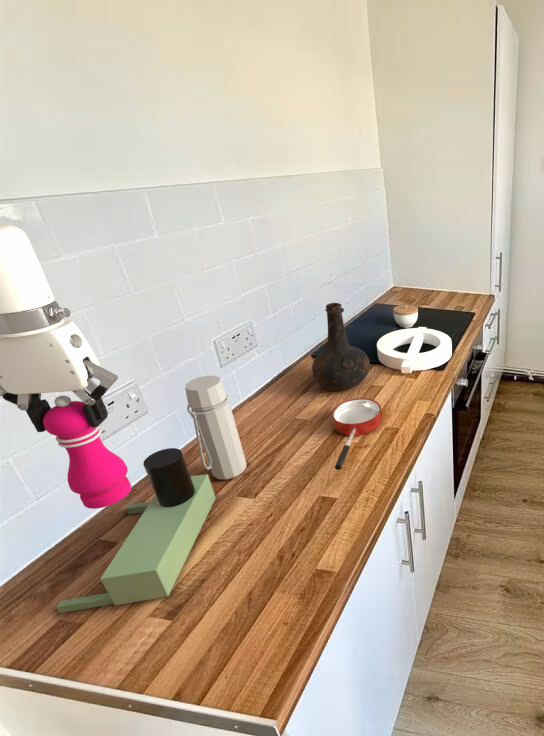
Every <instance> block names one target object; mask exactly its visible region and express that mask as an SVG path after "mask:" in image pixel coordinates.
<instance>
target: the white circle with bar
mask: <svg viewBox="0 0 544 736" xmlns="http://www.w3.org/2000/svg"><path fill="white" fill-rule="evenodd" d="M423 344H426V345H427V344H428V345H431V346H434V347H435V348H433V349H431V350H427V351H425V352H420V350H421V348H422V346H423ZM404 345H410V346H409V348H408V350H407V352H401V351H398V350H395V349H396V348H398V347H401V346H404ZM452 345H453V341H452V338H451V337H450V336H449V335H448V334H446V333H444V332H442V331H441V330H437V329H432V328H428V327H426V326H418V327H408V328H403V329H397V330H394V331H391V332H388V333H386V334H384V335H383V336H381V337H380V338H379V339H378V340H377V343H376V349H377V351H376V352H377V358H378V360H379V362H380V363H381V364H382V365H384V366H386V367H388V368H391V369H394V370H398V371H401V374H412V372H415V371H417V372H418V371H424V370H430V369H433V368H437V367H440V366H442V365H443V364H445V363H447V362H448V361H449V360H450V359H451V357H452V354H453V346H452Z"/></svg>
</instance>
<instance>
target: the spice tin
mask: <svg viewBox="0 0 544 736" xmlns="http://www.w3.org/2000/svg"><path fill="white" fill-rule="evenodd" d="M142 464H143V467H144V470H145V472H146V475H147V477H148V480H149V482H150V484H151V486H152V489H153V492H154V495H155V494H156V496H157V499H158V501H159V504H160V505H161V506H163V507H174V506H178V505H181V504H183V503H185V502H186V501H188V500H189V499H191V498H192V497H193V495H194V494H195V488H194V485H193V482H192V479H191V477H190V476H191V473H190V471H189V468H188V465H187V463H186V460H185V458H184V455H183V452H182V450H181V449H179V448H176V447H170V448H169V447H168V448H164V449H160V450H158V451H155V452H153V453H151V454H150V455H148V456H147V457H146V458H145V459H144V461H143V463H142Z"/></svg>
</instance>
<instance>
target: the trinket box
mask: <svg viewBox="0 0 544 736" xmlns="http://www.w3.org/2000/svg"><path fill="white" fill-rule="evenodd" d="M392 312H393V318H394V321H395V323H396V324H397V325H399V327H401V328H404V329H408V328H413V326H414V325H415V324H416V323H417V321H418V317H419V307H417V306H416V305H413V304H399V305H396V306H394V307H392Z"/></svg>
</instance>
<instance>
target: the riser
mask: <svg viewBox="0 0 544 736" xmlns="http://www.w3.org/2000/svg"><path fill="white" fill-rule="evenodd" d="M190 477H191V479H192V482H193V485H194V488H195V494H194V495H193V497H192V498H191V499H189V500H188V501H186V502H185V503H183V504H181V505H178V506H174V507H163V506H161V505H160V504H159V501H158V499H157V496H156V494H155V493H154V496H153V497H152V499H151V501H147V502H140V503H131V504H128V505H127V507H126V508H125V509H126V512H127V514H128V515H133V514H140V513H141V516H140V517H139V519H138V520H137V522H136V524H135V525H134V526H133V528H132V530H131V531H130V532H129V534H128V536H127V537H126V539H125V540H124V541H123V543H122V545H121V546H120V547H119V549H118V551H117V553H116V554H115V555H114V557H113V558H112V560H111V562H110V563H109V564H108V566H107V567H106V569H105V571H104V572H103V574H102V575H101V576H100V579H99V580H100V581H101V583H102V585H103V587H104V588H105V590H106V592H105V593H99V594H91V595H87V596H81V597H75V598H69V599H63V600H60V601H59V603H58V604H57V605H56V607H55V608H56V609H57V610H58V612H59V614H62V613H63V614H64V613H68V612H75V611H80V610H86V609H91V608H92V609H93V608H98V607H103V606H109V605H114V606H120V605H121V606H122V605H125V604H132V603H137V602H144V601H150V600H155V599H161V598H167V597H169V596H170V594H171V591H172V590H173V587H174V586H175V584H176V581H177V579H178V577H179V575H180V573H181V571H182V569H183V567H184V565H185V563H186V560H187V558H188V557H189V554H190V552H191V550H192V548H193V546H194V544H195V542H196V540H197V538H198V536H199V534H200V532H201V530H202V527H203V525H204V523H205V522H206V519H207V517H208V515H209V513H210V511H211V509H212V506H213V505H214V503H215V501H216V495H215V492H214V488H213V485H212V483H211V479H210V477H209V474H208V473H206V474H199V475H198V474H197V475H190Z"/></svg>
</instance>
